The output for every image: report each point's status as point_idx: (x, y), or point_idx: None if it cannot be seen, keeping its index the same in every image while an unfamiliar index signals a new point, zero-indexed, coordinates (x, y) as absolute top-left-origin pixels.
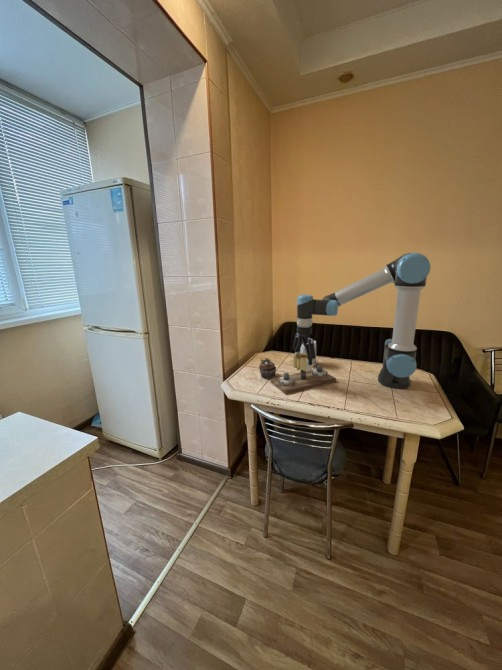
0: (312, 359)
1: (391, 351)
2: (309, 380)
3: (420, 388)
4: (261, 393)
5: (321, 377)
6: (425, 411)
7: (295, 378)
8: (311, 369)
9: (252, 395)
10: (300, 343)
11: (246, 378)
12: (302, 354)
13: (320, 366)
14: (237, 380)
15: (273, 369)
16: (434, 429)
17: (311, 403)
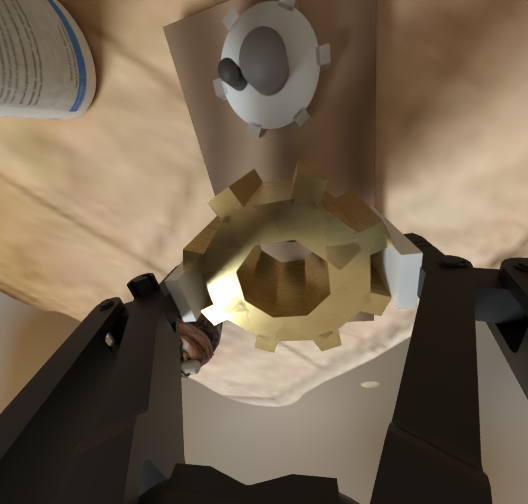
0: (380, 219)
1: None
2: (327, 185)
3: None
4: (325, 360)
5: (317, 84)
6: None
7: (278, 242)
8: (374, 209)
9: (327, 379)
10: (170, 437)
11: (209, 360)
12: (224, 268)
13: (269, 53)
14: (218, 379)
15: (209, 324)
16: None
17: (502, 255)
